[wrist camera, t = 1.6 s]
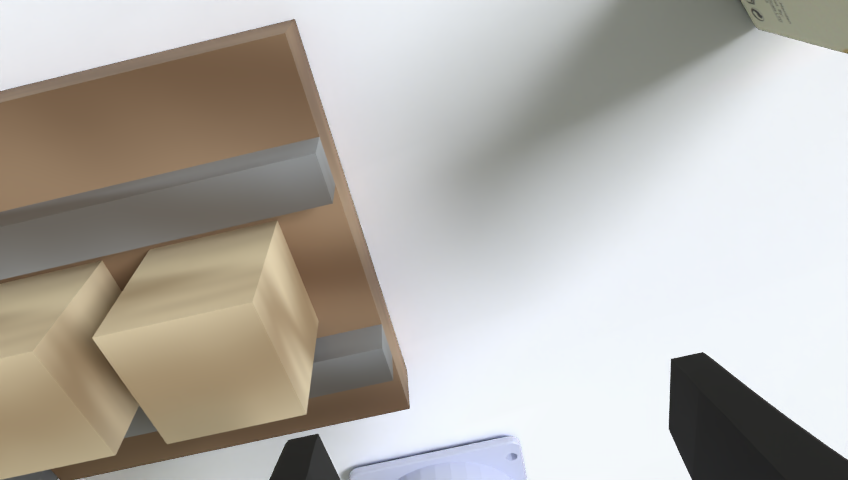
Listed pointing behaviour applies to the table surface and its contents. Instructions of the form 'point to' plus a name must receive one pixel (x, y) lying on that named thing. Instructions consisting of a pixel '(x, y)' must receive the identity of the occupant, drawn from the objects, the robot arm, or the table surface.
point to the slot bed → (200, 204)
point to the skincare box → (803, 20)
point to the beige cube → (58, 372)
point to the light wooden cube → (214, 334)
